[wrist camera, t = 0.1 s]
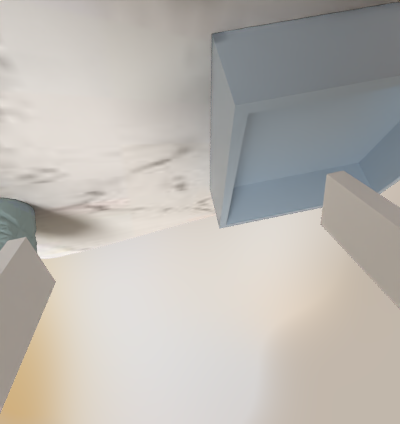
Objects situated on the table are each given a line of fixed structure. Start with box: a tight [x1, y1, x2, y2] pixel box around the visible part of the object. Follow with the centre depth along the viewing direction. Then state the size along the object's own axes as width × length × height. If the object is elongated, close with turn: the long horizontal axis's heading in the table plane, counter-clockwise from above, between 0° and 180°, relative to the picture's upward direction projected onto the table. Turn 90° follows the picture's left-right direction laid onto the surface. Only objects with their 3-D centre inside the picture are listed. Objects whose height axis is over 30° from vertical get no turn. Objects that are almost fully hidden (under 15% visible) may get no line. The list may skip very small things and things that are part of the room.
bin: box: [210, 2, 400, 228], centre depth 31 cm, size 26×26×7 cm
